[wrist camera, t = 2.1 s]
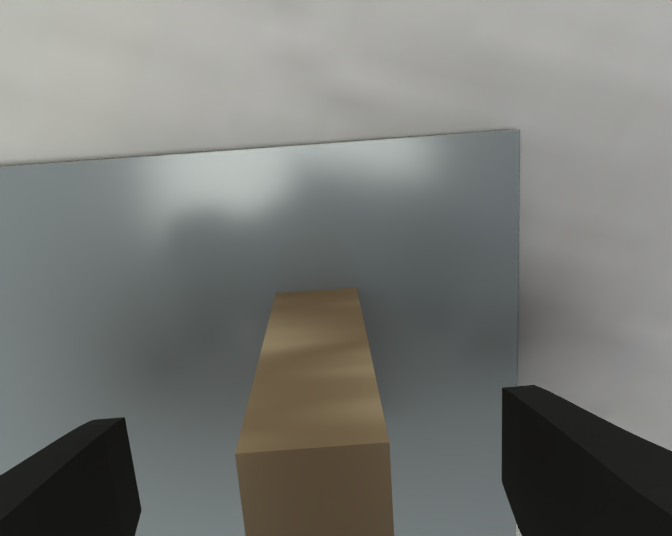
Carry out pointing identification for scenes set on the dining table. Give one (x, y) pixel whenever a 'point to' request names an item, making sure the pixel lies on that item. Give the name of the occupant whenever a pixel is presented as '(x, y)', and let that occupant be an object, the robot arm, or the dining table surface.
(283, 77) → the dining table surface
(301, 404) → the tan cardboard box
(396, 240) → the slate board
